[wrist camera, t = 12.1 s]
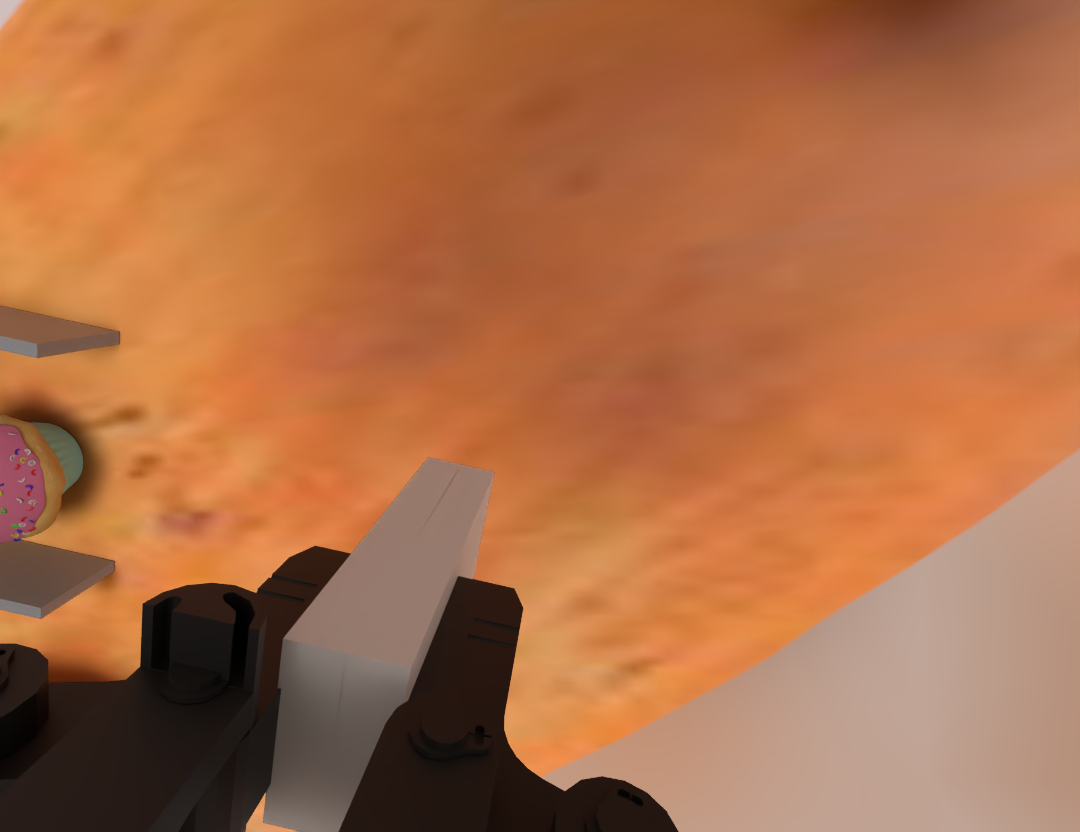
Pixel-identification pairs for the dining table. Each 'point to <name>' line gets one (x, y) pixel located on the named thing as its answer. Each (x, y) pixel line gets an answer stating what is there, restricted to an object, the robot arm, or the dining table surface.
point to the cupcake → (34, 475)
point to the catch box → (24, 567)
